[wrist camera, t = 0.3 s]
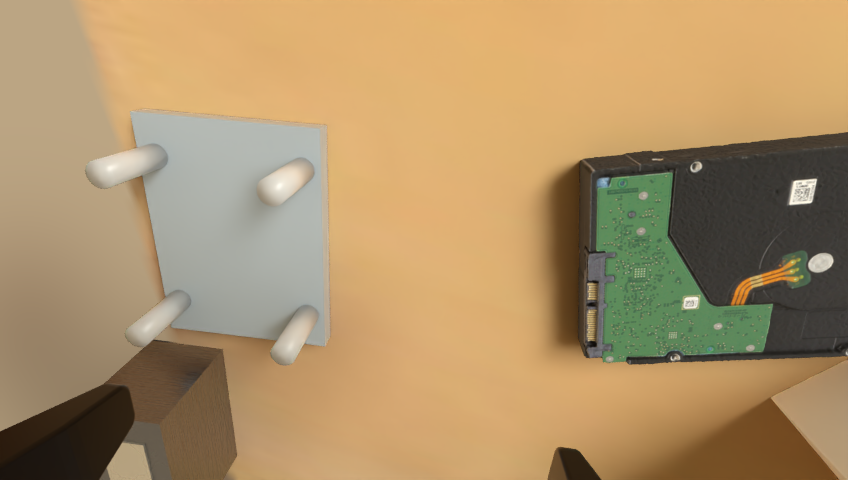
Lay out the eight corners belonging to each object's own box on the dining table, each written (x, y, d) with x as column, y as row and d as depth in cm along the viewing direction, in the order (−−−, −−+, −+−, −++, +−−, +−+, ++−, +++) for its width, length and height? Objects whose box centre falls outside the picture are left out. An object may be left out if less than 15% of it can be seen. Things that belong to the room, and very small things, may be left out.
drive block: (237, 454, 31) (185, 544, 25) (175, 445, 31) (110, 532, 25) (223, 348, 27) (158, 426, 21) (153, 339, 27) (70, 413, 22)
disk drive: (934, 113, 19) (572, 156, 21) (1008, 123, 16) (587, 171, 18) (874, 321, 23) (575, 340, 25) (927, 355, 20) (588, 373, 22)
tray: (330, 335, 26) (303, 390, 21) (181, 317, 26) (127, 367, 22) (326, 125, 21) (290, 143, 17) (144, 108, 21) (66, 122, 17)
